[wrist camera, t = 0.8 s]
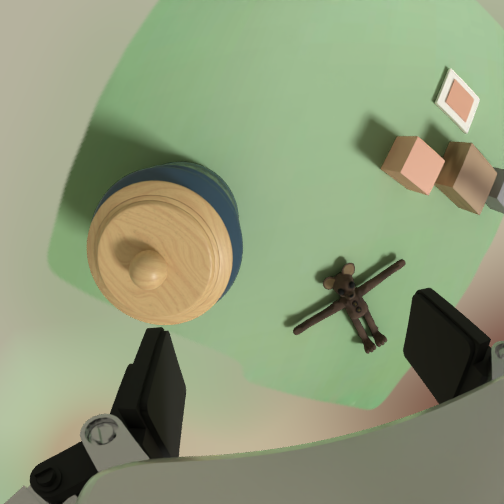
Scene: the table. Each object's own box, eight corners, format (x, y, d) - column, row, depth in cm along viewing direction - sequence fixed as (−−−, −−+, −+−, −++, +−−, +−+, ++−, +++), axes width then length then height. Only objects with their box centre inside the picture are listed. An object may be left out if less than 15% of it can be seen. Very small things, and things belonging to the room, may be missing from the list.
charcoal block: (486, 166, 35) (508, 170, 31) (500, 183, 36) (521, 188, 32) (475, 192, 37) (497, 198, 32) (489, 208, 38) (510, 215, 33)
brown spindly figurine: (326, 381, 41) (280, 322, 36) (318, 362, 45) (273, 303, 40) (427, 316, 39) (405, 241, 34) (413, 301, 43) (388, 229, 37)
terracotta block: (396, 136, 33) (418, 136, 29) (422, 157, 34) (445, 160, 30) (380, 168, 35) (400, 172, 30) (407, 189, 36) (428, 195, 31)
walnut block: (449, 141, 34) (471, 142, 29) (475, 169, 35) (497, 173, 31) (430, 182, 36) (452, 187, 31) (458, 207, 37) (479, 215, 32)
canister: (113, 188, 33) (28, 224, 16) (213, 143, 32) (199, 136, 16) (157, 283, 37) (115, 375, 21) (254, 246, 37) (275, 328, 20)
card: (448, 68, 30) (451, 67, 29) (477, 99, 32) (480, 98, 31) (434, 103, 32) (437, 102, 31) (464, 133, 33) (468, 133, 33)
